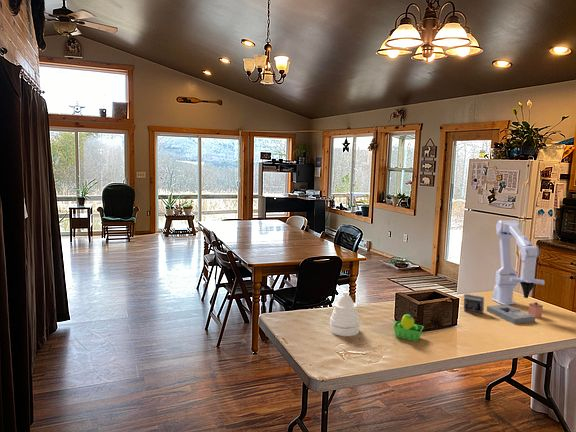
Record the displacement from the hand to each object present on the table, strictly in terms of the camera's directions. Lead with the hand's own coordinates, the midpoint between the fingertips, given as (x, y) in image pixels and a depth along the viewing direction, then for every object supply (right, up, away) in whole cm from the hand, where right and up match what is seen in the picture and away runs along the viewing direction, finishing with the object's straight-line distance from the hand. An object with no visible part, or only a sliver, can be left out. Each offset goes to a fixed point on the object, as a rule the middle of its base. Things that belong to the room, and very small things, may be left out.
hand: (525, 297), depth 213 cm
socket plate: (-7, -9, +1) cm, 12 cm away
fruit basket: (-65, -12, -27) cm, 71 cm away
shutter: (-6, -7, -5) cm, 11 cm away
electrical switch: (-23, -9, +5) cm, 25 cm away
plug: (+5, -10, +1) cm, 11 cm away
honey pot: (-91, -11, -20) cm, 94 cm away
